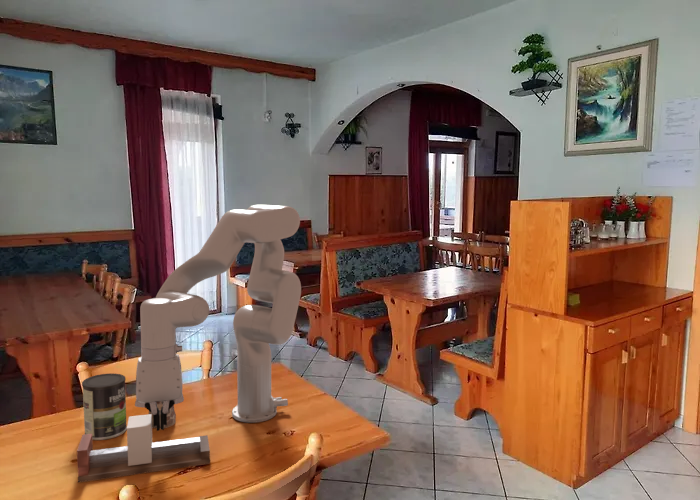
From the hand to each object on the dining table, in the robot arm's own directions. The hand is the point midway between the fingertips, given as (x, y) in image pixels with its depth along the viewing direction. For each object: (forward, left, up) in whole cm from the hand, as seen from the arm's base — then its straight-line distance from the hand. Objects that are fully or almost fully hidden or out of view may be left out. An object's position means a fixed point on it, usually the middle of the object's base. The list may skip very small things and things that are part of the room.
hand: (160, 427), depth 124 cm
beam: (+3, 0, -7) cm, 8 cm away
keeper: (+4, 0, -7) cm, 8 cm away
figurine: (0, -21, -9) cm, 23 cm away
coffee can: (+14, -20, -9) cm, 26 cm away
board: (+3, 0, -8) cm, 9 cm away
